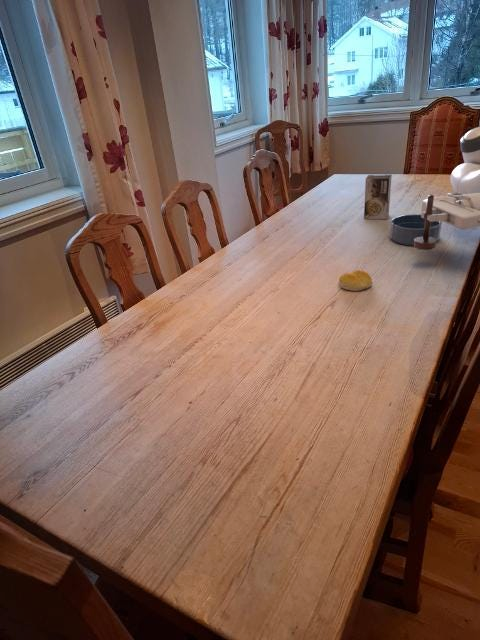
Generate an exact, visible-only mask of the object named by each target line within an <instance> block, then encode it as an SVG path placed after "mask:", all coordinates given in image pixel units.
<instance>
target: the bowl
mask: <svg viewBox="0 0 480 640" xmlns="http://www.w3.org/2000/svg"><path fill="white" fill-rule="evenodd" d="M424 224H425V219H424V218H421V214H403V215H398V216H395V217H393V218H392V219H390V226H389V238H390V239H391V240H392V241H393V242H395V243H397V244H400V245H404V246H409V247H410V246H413V247H414V240H415V238H417V237H423V232H424ZM442 224H443V222H439V221H433V222H431V224H430V231H429V237H432V238H435V239H436V242H438V240H439V239H440V237H441V231H442Z"/></svg>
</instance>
